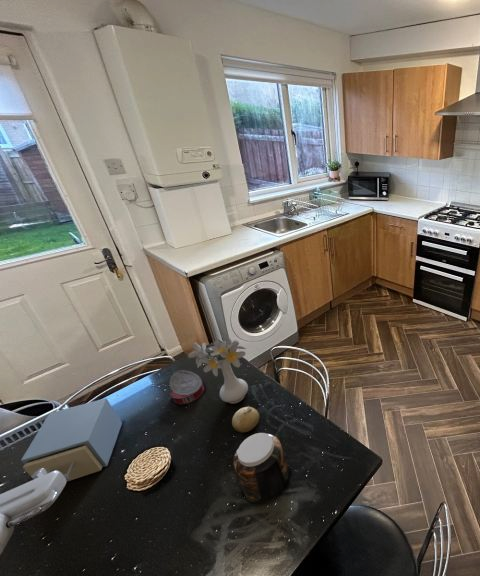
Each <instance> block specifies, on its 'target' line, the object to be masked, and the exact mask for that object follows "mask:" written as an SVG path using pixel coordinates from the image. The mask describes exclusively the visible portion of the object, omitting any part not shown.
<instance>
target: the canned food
mask: <svg viewBox="0 0 480 576" xmlns="http://www.w3.org/2000/svg"><path fill="white" fill-rule="evenodd" d="M168 384H169V389H170V396H171V398H172V400H173V402H174V403H175V404H176V405H187V404H189V403H193V402H194V401H197V399H199V398H200V397H201V396H202V395H203V393H204V391H205V386H204V384H203V381H202V378H201V376H199V375H198V374H197V373H196V372H193V371H191V370H186V369H180V370H177V371H174V372H173V374H172V375H171V376H170V379H169V383H168Z"/></svg>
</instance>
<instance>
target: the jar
mask: <svg viewBox="0 0 480 576" xmlns="http://www.w3.org/2000/svg"><path fill="white" fill-rule="evenodd" d="M284 452H285V451H284V449H283V446H282V443H281V442H280V439H279V438H278V437H277V436H276V435H273V434H271V433H265V432H258V433H254V434H252V435H250V436H248V437H246V438H245V439H244V440H243V441H242V442H241V443H240V445H239V447H238V448H237V449H236V451H235V453H234V455H233V460H232V463H233V464H232V465H233V469H234V470H233V471H234V473H235V475H236V478H237V481H238V483H239V485H240V488H241V490H242V493H243V495H244V496H245V498H246V499H247V500H248V501H249V502H251V503H255V504H263V503H267V502H269V501H271V500H273V499H275V498H276V497H277V496H279V494H281V492H282V491H284V489H285V487H287V484H288V482H289V476H290V472H289V466H288V463H287V459H286V456H285V453H284Z"/></svg>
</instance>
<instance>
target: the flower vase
mask: <svg viewBox="0 0 480 576" xmlns="http://www.w3.org/2000/svg"><path fill="white" fill-rule="evenodd" d="M225 338H226V339H224V340H222V341H221V340H220V339H216V340H215V341H214V342H213V346H209V347H207V343H206V342H202V343H201V344H200V345H199V344H198V343H197V342H196V341H195V342H192V348H193V349H194V351H190V353H188V355H187V357H188V358H189V359H194V358H195V365H197V366H196V367H197V368H199V367H202V365H203V364H205V366H204V367H203V369H202V370H203V372H204V373H209V372H210V371H211V372H212V374H213V375H214V376H215V377H218V376H219V371H218V369H220V370H221V372H222V376H223V380H224V382H223V384H222V386H221V387H220V389H219V398H220V400H222V401H223V402H225V403H229V404H232V405H233V404H238V403H240V402H242V401H243V400H244V399H245V397H246V395H247V393H248V391H249V385H248V383H247V381H246V380H244V379H243V378H238V377H237V376H236V375H235V373H234V370H233V368H232V366H231V364H232V365H233V366H234V368H237V369H239V368H240V367H241V361H240V360H239V359H241V358H244V357H245V355H246V352H245V351H243V350H246V349H247V348H246V347H244V346H241V345H240V343H239V342H238V340H233V341H232V340H231V338H230V337H229V336H227V335H226V337H225ZM227 342H228V344H227ZM237 350H239V351H237Z"/></svg>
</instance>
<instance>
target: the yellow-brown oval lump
mask: <svg viewBox="0 0 480 576" xmlns="http://www.w3.org/2000/svg"><path fill="white" fill-rule="evenodd" d="M259 421H260V413H259V412H258V410H257V409H256V408H254V407H252V406H250V405H249V404H248V405H247V406H244V407H241V408H239V409H238V410H237V411H236V412H235V413H234V414H233V416H232V419H231V425H232V428H233V430H235V431H236V432H238V433H248V432H251V431H252V430H253V429H254V428H255V427H256V426H257V425H258V423H259Z"/></svg>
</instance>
